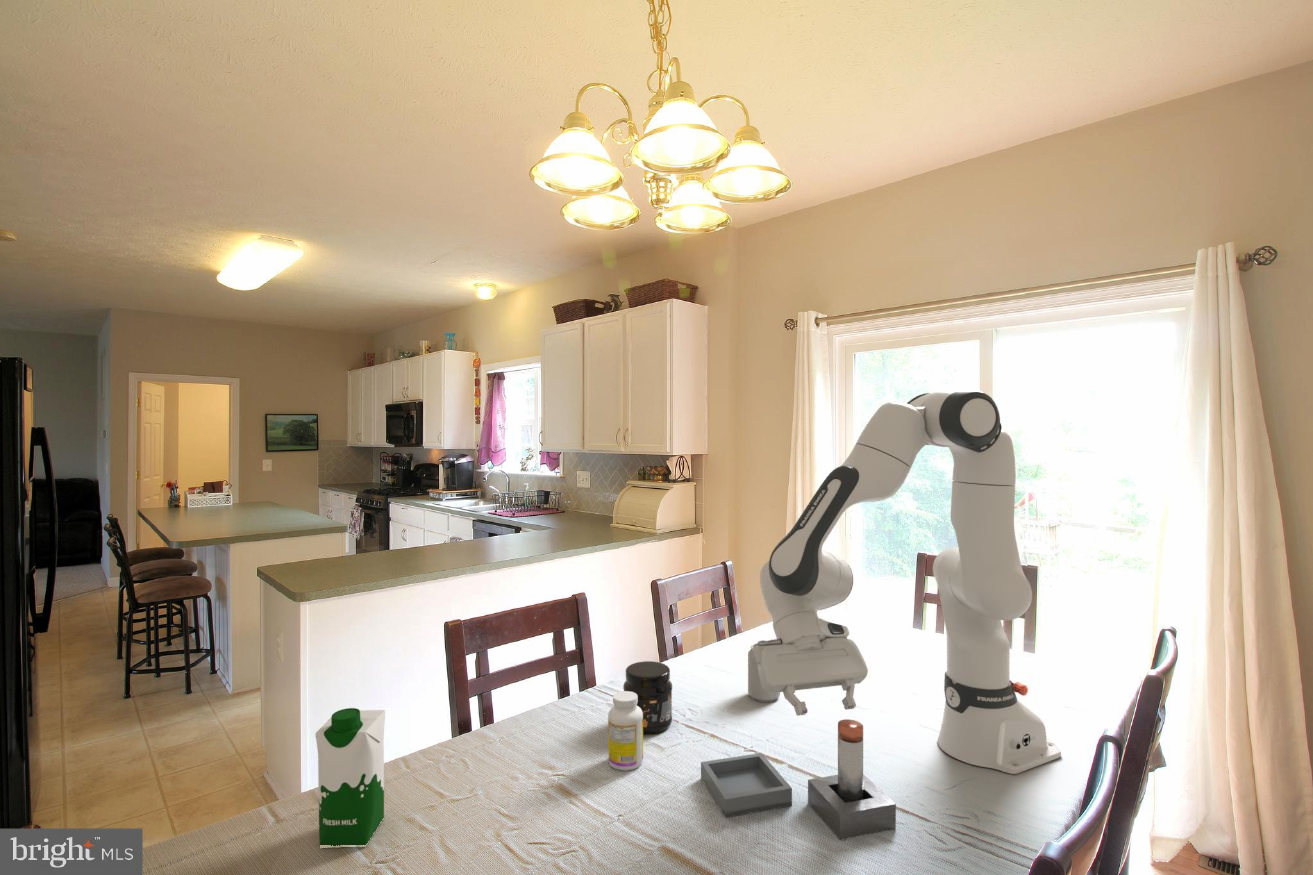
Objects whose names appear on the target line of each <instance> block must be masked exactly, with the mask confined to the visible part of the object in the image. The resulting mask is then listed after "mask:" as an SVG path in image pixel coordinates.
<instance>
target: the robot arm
mask: <svg viewBox="0 0 1313 875" xmlns="http://www.w3.org/2000/svg"><path fill="white" fill-rule="evenodd" d="M1002 428H1003V427H1002V423H1001V416H1000V411H999V409H998V406H997V404H996V402H995V401H994V400H993V398H992V397H991V396H990V395H989V394H987V393H985V392H983V391H981V390H978V389H977V390H976V389H972V388H961V389H959V388H958V389H954V388H950V389H949V388H948V389H940V390H937V391H934V392H927V393H921V394H919V395H917V396H914V397H913V398H911V399H910V400H908V402H907V403H905V402H901V401H890V402H889V401H888V402H886V403H884V404H882V405H881V406H880V407H878V409H877V410H876V411H875V413H874V414H873V416H871V418H870V420H869V421H868V422H867V424H866V425H865V426H864V429H863V430H862V432H861V433H860V435H859V437H858V439H857V441H856V443H855V445H854V446H853V449H852V451H851V452H850V454H849V455H848V456H847V457H846V458H845V460H844V462H843V463H841V465H840V466H838V467H836V468H834V469H833V470H832V471H831V472H830V473H829V474H828V475H827V476H826V478H825V479H824V480H823V482H821V484H820V486H819V487H818V488H817V490H816V491H815V493H814V495H813V496H812V498H811V499H810V501H809V502H808V504H807V505H806V507H805V509H804V510H803V511H802V513H801V515H800V516H799V517H798V519H797V521H796V523H794V525H793V527H792V528H791V530H790V531H789V532H788V533H787V534H786V535H785V536H784V537H782V539H781V540H780V541H779V542H778V543H777V545H776V546H775V547H774V548H773V550H772V552H771V554H770V556H769V559H768V560H767V562H766V563H764V564H763V566H762V567H761V570H760V574H759V581H760V582H759V583H760V590H761V594H762V598H763V600H764V605H765V607H766V609H767V610H766V611H767V612H768V613H769V615H770V617H771V619H772V627H773V631H774V634H775V637H776V638H775V639H769V640H758V641H757V642H756V643H757V644H756V643H754V644H755V645H754V646H753V655H754V658H755V661H756V662H757V663H758V671H759V677H760V682H761V686H762V689H763V690H764V691H766V692H767V693H777V692H780V693H783V697H784V699H785V700H787V702H788V703H789V704H790V705H791V706H792V707H793V708H794V712H795V714H796V716H797V717H799V716H806V714H807V713H809V712H808V711H809V710H808V708H807V704H806V701H801V700H800V699H799V698H798V697H797V696H796V695H795V693H796V691H802V690H812V689H822V688H830V687H838V686H841V688H842V690H843V691H844V692H845V691H846V692H845V697H843V699H842V700H841V702H842V705H843V707H844V710H847V711H848V710H854V709H855V708H856V706H857V704H856V700H855V699H854V693H855V686H856V684H857V685H859V684H861V683H862V682H863V681H864V680H865V679H866V678H867V676H868V673H869V669H868V667H867V663H866V661H865V658H864V656H863V655H862V652H861V651H860V649H859V647H858V644H856V643H855V641H854V640H853V639H851V638H849V635H850V631H849V630H850V629H849V628H848V626H847V625H845V624H842V623H837V622H834V621H833V622H832V621H829V620H826V619H823V618H819V616H818V612H819V611H823V610H826V609H829V608H831V607H834V606H837V605H839V604H841V603H843V602H844V601H845V600H846V599H847V598H848V597H849V595H850V594H851V592H852V590H853V586H854V574H853V570H852V568H851V567H850V565H849V564H848V563H847V562H846V561H845V560H843V559H842V558H840V557H837V556H836V555H834V554H832V553H830V552H827V551H824V550H823V546H824V543H825V542H826V540H827V539H828V537H829V536H830V534H831V533H832V531H833V529H834V528H835V526H836V525H837V523H838V522H839V520H840V519H841V517H842V515H843V514H844V512H846V511H847V510H848V509H849V508H850V507H852V506H854V505H856V504H860V503H871V502H872V503H873V502H874V503H876V502H881V501H885V500H887V499H890V498H892V497H894V496H895V495H896V493H897V492H898V491H899V489H901V487H902V486H903V484H904V483H905V481H906V479H907V477H908V475H909V473H910V471H911V469H912V466H913V464H914V463H915V459H916V457H917V455H918V454H919V452H920V451H921V450H922V449H923V448H924V447H925V446H933V447H934V446H935V447H940V448H941V447H942V448H948V449H949V451H950V453H951V456H952V460H953V467H952V468H953V469H952V470H953V471H952V478H951V480H952V481H951V482H952V483H951V484H952V485H951V500H950V502H951V503H950V522H951V525H952V527H953V529H954V532H955V537H956V540H957V541H956V542H957V546H953V547H947V548H946V549H943V550H942V551H940V552H939V553H938V554H937V555H936V557H935V558H934V561H933V564H932V574H933V577H934V579H935V581H936V585H937V587H938V593H939V599H940V605H941V610H942V616H943V620H944V626H945V634H946V671H945V673H944V679H943V682H944V683H943V691H944V698H945V704H944V708H943V717H942V721H941V726H940V730H939V734H938V737H937V745H938V746H939V748H940V749H941V750H942V751H943V752H944V753H946V754H948V755H949V756H951V757H952V758H954V759H956V760H959V761H961V762H964V763H967V764H970V765H974V766H977V767H982V768H987V769H995V770H998V771H1001V772H1004V773H1007V774H1011V775H1012V774H1013V775H1017V774H1020V773H1023V772H1025V771H1028V770H1030V769H1032V768H1035V767H1038V766H1041V765H1043V764H1046V763H1048V762H1052V761H1054V760H1056V759H1059V758H1062V752H1061V749H1060V748H1059V747H1058V746H1057V745H1056V744H1055V743H1053V742H1052V741H1051V740H1050V739H1048V738H1047V731H1046V727H1045V723H1044V721H1043V720H1042V718H1040V716H1039V715H1038V714H1036V713H1035V712H1034V711H1032V710H1031V709H1030V708H1028V707H1027V706H1026V705H1025V704H1024V703H1022V702H1021V701H1020V700H1019V699H1018V697H1017V695H1016V693H1018V694H1019V695H1021V696H1026V695H1027V694H1028V693H1029V688H1028V686H1027V685H1025V684H1022V683H1021V682H1019V681H1017V682H1013V681H1012V680H1011V679H1010V658H1011V657H1010V650H1011V649H1010V647H1011V646H1010V642H1009V638H1008V636H1007V634H1006V631H1005V630H1004V627H1003V624H1002V621H1012V620H1013V621H1014V620H1015V619H1018V618H1021V616H1023V615H1024V614H1025V613H1026V612H1027V611H1028V609H1029V607H1030V606H1031V603H1032V601H1033V600H1032V599H1033V591H1032V590H1033V589H1032V587H1031V584H1030V582H1029V580H1028V579H1027V576H1026V575H1025V573H1024V570H1023V567H1022V563H1021V558H1020V553H1019V548H1018V542H1017V539H1016V531H1015V501H1016V481H1017V480H1016V479H1017V478H1016V477H1017V476H1016V459H1015V458H1016V457H1015V451H1014V446H1013V444H1014V443H1013V440H1012V438H1011V436H1010V434H1008V433H1007V432H1006V431H1004V430H1002ZM756 646H757V647H756Z"/></svg>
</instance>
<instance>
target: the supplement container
mask: <svg viewBox="0 0 1313 875" xmlns="http://www.w3.org/2000/svg"><path fill="white" fill-rule="evenodd" d="M670 678H671V669H670V667H669V666H668V665H667V664H665V663H662V662H660V661H659V662H658V661H650V660H647V661H645V660H644V661H638V662H634V663H632V664H629V665H628V666H627V667H626V668H625V681H624V683H623V686H622V687H623V691H630V692H634V693H636V694H637V696H638V702H637V706H638V707H640V709H641V710H642V712H643V735H653V734H658V733H661V732H662V733H663V731H666V730H667V729H668V728H669V727H671V725H672V722H673V716H672V715H673V711H672V710H673V709H672V708H673V706H672V705H673V698H672V696H673V694H672V691H673V683H672V681H671V680H670Z"/></svg>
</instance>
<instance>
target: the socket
mask: <svg viewBox="0 0 1313 875" xmlns="http://www.w3.org/2000/svg"><path fill="white" fill-rule="evenodd" d="M807 803H808V805H809V806H810V807H811V808H812V810H814V812H815V814H817V815H818V816H819V817H820V819H821V820H822V822H824V823H825V824H826V826H827V827H828V828H829V829H830V830H831V832H832V833H834V835H835V836H836V837H837V838H838V840H840V841H841V840H846V839H851V838H857V837H860V836H867V835H872V834H878V833H882V832H886V831H892V830H896V828H897V826H896V824H897V803H895V802H894V801H893V800H892V798H890V797H889V796H888V795H887V794H886V793H884V792H883V791H882V789H880V788H879V787H878V786H877V785H876V784H875V783H874V782H872V781H871V780H870V779H869V778H868V777H867V776H866V775H865V774H864V773H863V800H859V801H853V802H848V803H845V802H844V801H843V800H842V799H841V798H840V797H839V796H838V774H835V775H828V776H827V775H826V776H822V777H817V778H816V777H814V778H810V779H807Z"/></svg>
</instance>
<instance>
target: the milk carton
mask: <svg viewBox="0 0 1313 875" xmlns="http://www.w3.org/2000/svg"><path fill="white" fill-rule="evenodd" d="M385 719H386V709H371V710H370V709H367V710H366V709H361V710H360V709H358V708H356V707H348V708H343V709H339V710H337V711H335V712H334V713H332V714H331V717H330V718H329V719H328V720H327V721H326V722H325V723H324V724H322V726H321V727H320V728H319V729H318V730H317V731H316V732H315V734H314V735H315V740H316V748H317V759H318V761H317V763H318V764H317V767H318V768H317V770H318V771H317V773H318V778H317V780H318V782H317V783H318V834H319V839H318V840H319V846H320V845H331V846H332V845H333V846H336V845H337V846H338V845H339V846H340V845H366V844H367V843H368V841H369V840H370V838H371V837H372V835H373V833H374V832H375V831H376V829H377V827H378V826H379V824H380V822H381V821H382V819H383V818H384V819H385V756H384V755H385V748H384V747H385V746H384V735H385ZM382 822H383V821H382ZM380 825H381V824H380ZM379 827H380V826H379ZM377 830H378V829H377ZM376 832H377V831H376ZM376 832H375V833H376ZM373 836H374V835H373ZM372 838H373V837H372ZM372 838H371V839H372ZM370 841H371V840H370ZM368 844H369V843H368Z"/></svg>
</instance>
